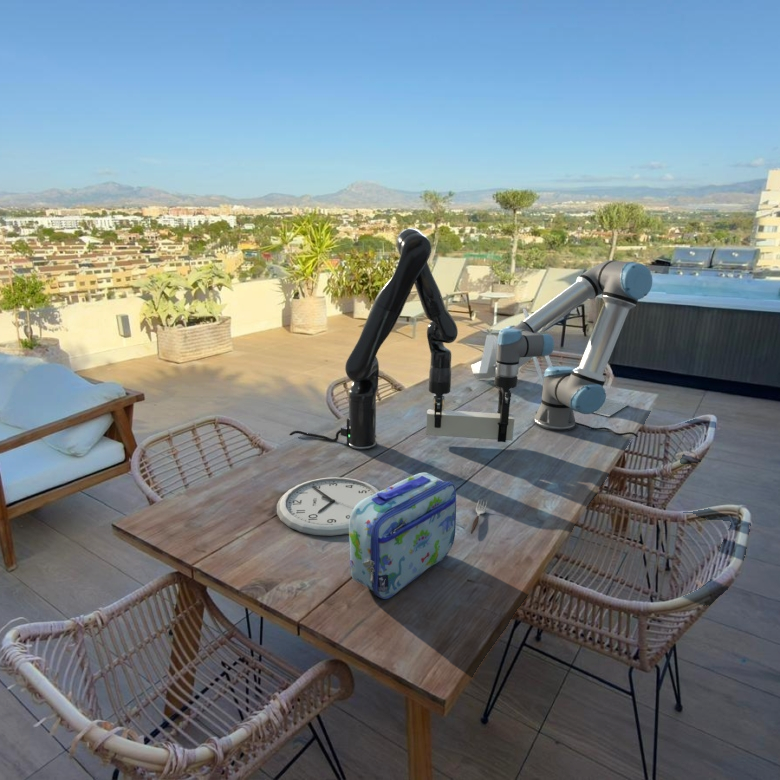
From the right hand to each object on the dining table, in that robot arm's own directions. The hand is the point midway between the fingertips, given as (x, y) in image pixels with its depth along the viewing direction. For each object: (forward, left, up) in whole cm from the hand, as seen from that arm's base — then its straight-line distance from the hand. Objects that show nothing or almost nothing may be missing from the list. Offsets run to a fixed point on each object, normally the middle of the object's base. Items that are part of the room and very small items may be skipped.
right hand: (500, 438), depth 184 cm
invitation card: (-47, -49, -2) cm, 68 cm away
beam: (+11, 0, 0) cm, 11 cm away
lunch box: (+27, +76, -2) cm, 81 cm away
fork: (+10, +52, -2) cm, 53 cm away
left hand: (+22, 0, +4) cm, 23 cm away
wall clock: (+49, +50, -2) cm, 70 cm away
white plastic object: (-11, -74, -2) cm, 75 cm away
